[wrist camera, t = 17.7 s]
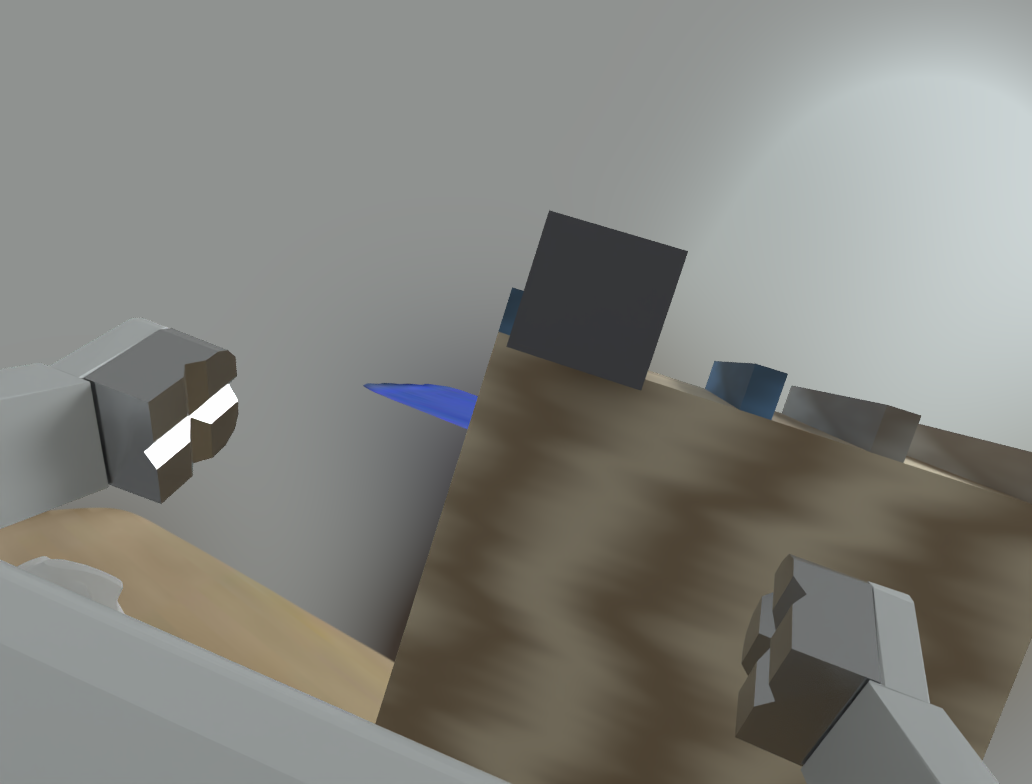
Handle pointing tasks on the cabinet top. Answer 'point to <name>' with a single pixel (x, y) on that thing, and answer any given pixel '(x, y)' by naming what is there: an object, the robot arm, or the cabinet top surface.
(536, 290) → the dark grey piece
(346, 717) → the robot arm
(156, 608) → the cabinet top surface
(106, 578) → the white round lump
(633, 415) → the riser
